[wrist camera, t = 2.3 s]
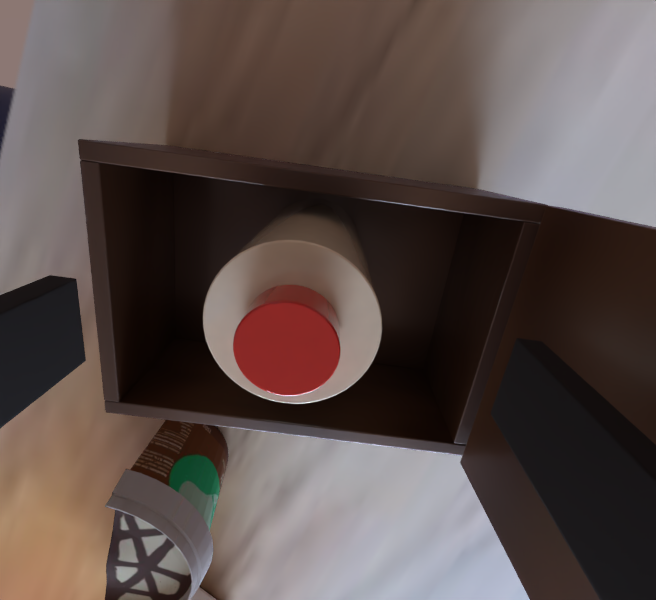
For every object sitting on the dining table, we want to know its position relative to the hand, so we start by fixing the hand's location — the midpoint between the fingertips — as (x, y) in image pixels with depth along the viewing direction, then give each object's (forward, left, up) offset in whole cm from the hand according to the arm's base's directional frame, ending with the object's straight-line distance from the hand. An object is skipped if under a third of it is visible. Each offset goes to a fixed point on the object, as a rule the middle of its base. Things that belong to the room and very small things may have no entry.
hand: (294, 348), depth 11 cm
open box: (0, -2, -15) cm, 15 cm away
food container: (-7, -19, -15) cm, 25 cm away
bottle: (0, 0, -14) cm, 14 cm away
